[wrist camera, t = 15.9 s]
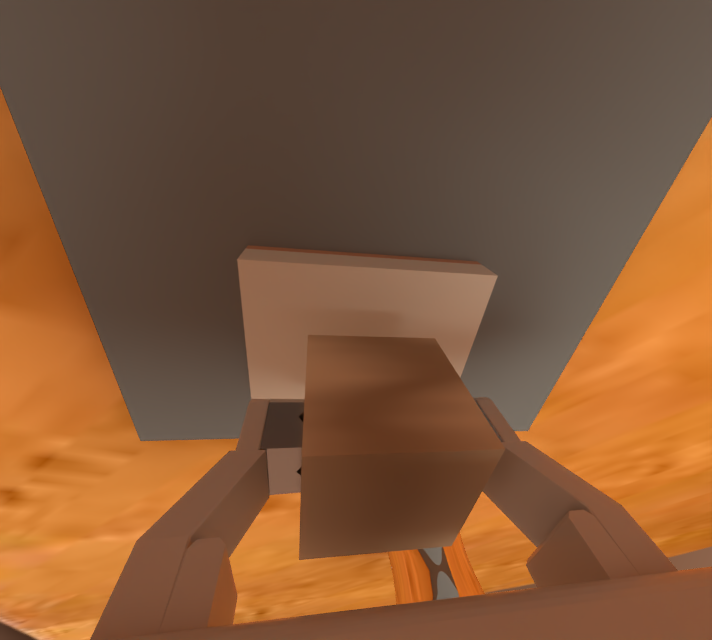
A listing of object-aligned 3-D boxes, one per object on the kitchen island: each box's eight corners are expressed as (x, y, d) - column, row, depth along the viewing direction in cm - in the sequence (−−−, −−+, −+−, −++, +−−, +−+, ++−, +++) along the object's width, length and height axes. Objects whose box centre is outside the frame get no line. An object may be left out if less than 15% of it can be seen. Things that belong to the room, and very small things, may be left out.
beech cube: (434, 338, 9) (505, 449, 6) (410, 424, 11) (451, 545, 8) (307, 334, 9) (301, 456, 5) (305, 426, 11) (299, 559, 7)
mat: (776, -33, 9) (805, -45, 8) (522, 423, 19) (527, 430, 18) (-121, -288, 5) (-168, -335, 5) (146, 431, 15) (140, 441, 15)
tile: (497, 275, 10) (237, 259, 9) (447, 412, 14) (252, 415, 12) (476, 261, 12) (247, 245, 10) (435, 389, 15) (259, 389, 14)
